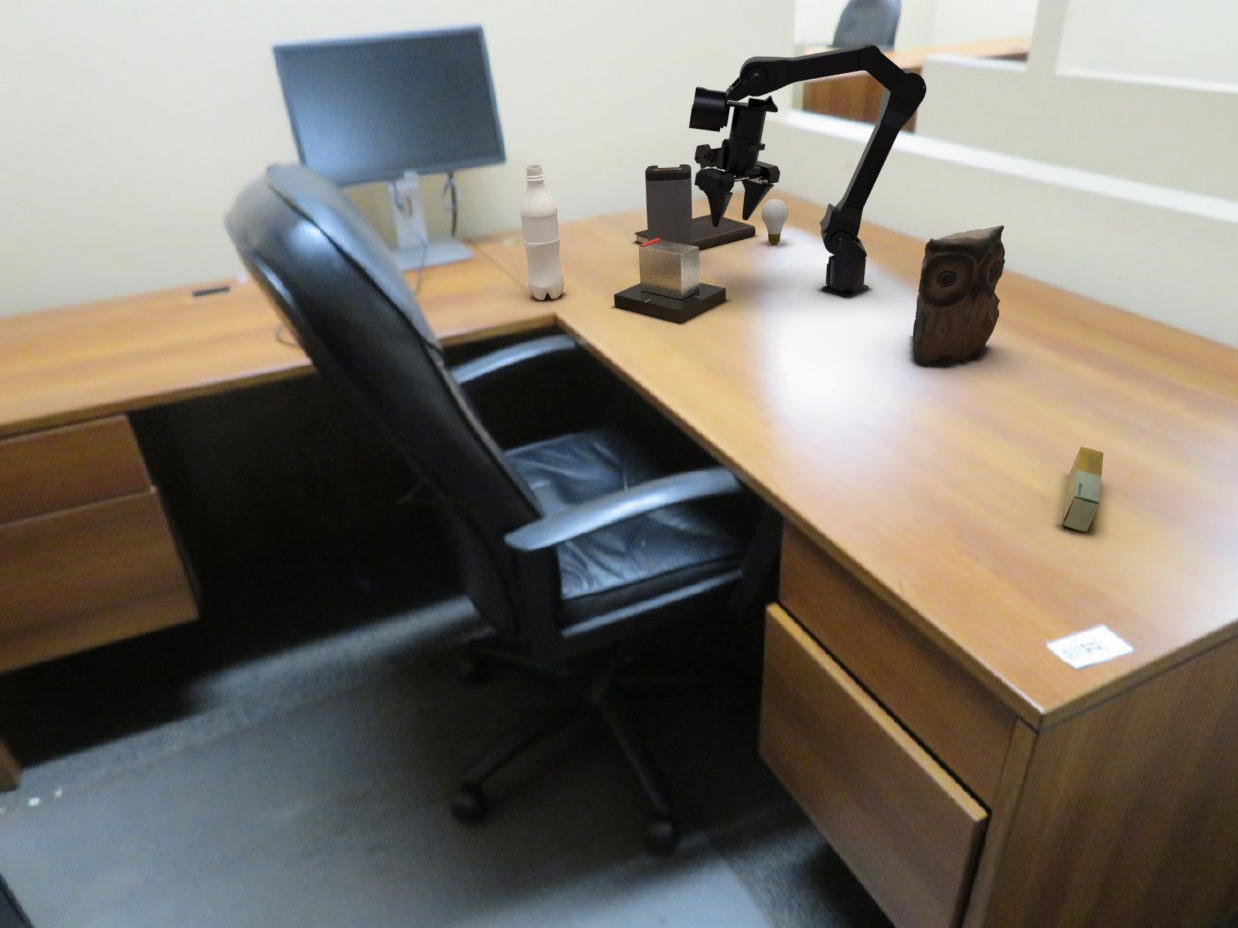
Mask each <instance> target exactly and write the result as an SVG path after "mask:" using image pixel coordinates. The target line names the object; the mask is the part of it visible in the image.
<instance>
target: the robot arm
mask: <svg viewBox="0 0 1238 928" xmlns="http://www.w3.org/2000/svg"><path fill="white" fill-rule="evenodd" d="M862 71H863V72H866V73H867V74H869V75H870V76H871V77H872V78H873V79H875V80H876V81H877V82H878V83H879V84H880V85H882V86H883V87H884V88H883V91H882V95H881V99H880V103H879V110H878V115H877V120H876V123H875V125H874V128H873V129H872V132H871V134H870V136H869V139H868V141H867V143H866V145H865V146H864V149H863V151H862V154H861V157H860V159H859V161H858V163H857V165H856V167H855V170H854V171H853V174H852V177H851V179H850V180H849V183H848V185H847V188H846V190H845V192H844V194H843V195H842V198H841V200H839V201H838V202H837V204H835V205H833V204H832V203H829V202H828V204H827V207H826V211H825V214H824V216H823V218H822V219H821V220H820V221H819V225H820V228H821V229H820V236H821V240H822V242H823V245H824V247H825V250H826V251H827V252H828V253H829V254H831V255H829V256H828V262H827V263H826V267H825V268H826V269H825V270H826V272H825V285H824V286H822V287H821V291H824V292H827V293H831V294H835V295H838V296H841V297H846V298H851V297H853V296H854V295H857V294H860V293H862V292H865V291H866V290H869V285H866V284H865V278H866V277H865V275H866V266H867V257H868V253H867V251H866V249H865V247H864V244H863V242H862V240H861V239H860V238H859V237H858V235H859V232H860V230H861V229H860V228H861V223H862V218H863V213H864V208H865V206H866V203H867V201H868V200H869V197H870V195H871V193H872V191H873V189H874V186H875V184H876V182H877V180H878V178H879V177H880V174H881V172H882V169H883V167H884V165H885V163H886V161H887V159H888V157H889V154H890V152H891V150H892V148H893V146H894V144H895V142H896V140H897V137H898V135H899V134H900V131H901V130H902V129H903V127H904V126H906V124H907V123H908V122H909V121H910V120H911V118H913V116H914V114H915V113H916V112H917V110H918V108H919V107H920V106H921V104H922V103H923V101H924V99H925V97H926V94H927V91H928V89H927V84H926V81H925V79H924V78H923V77H922V76H921V75H920V74H918V73H917V72H916V71H914V70H913V69H910V68H900V67H899V66H898V65H897V63H895V62H893V60H891V59H890V58H889V57H887V56H886V55H885V54H884V53H883V52H882V51H881V49H880V48H879V46H877V45H876V44H874V43H871V42H863V43H861V44H860V45H859V44H858V45H856V46H849V47H843V48H837V49H833V50H832V49H831V50H827V51H821V52H816V53H810V54H803V55H798V56H794V57H793V56H788V57H787V56H786V57H785V56H768V55H767V56H765V55H764V56H763V55H762V56H761V55H760V56H759V55H757V56H751V57H749V58H747V59H746V60H745V61H744V62H743V64H742V65H741V66H740V69H739V72H738V73H739V75H738V77H737V78H736V79H735V80H734V81H733V82H732V83H731V84H729V85H728V88H726V90H717V89H709V88H706V87H703V86H696V87H695V90H694V97H693V102H692V103H693V104H692V105H691V109H690V115H689V123H688V129H691V130H692V129H693V130H701V131H708V132H714V133H720V132H721V129H725V128H728V123H729V118H730V112H731V108H733V111H732V117H731V124H730V130H729V135H728V138H723V140H722V141H721V147H714V148H712V147H711V146H710V143H705V144H699V145H698V144H697V145H696V148H695V152H694V158H693V159H694V161H695V163H696V164H697V165H699V166H700V167H699V168H700V169H699V170H698V171H697V172H696V173H695V177H694V182H693V184H694V186H696V187H698V189H699V191H703V193H704V194H705V195H706V197H707V201H708V206H709V213H710V214H711V218H712V224H713V226H714V227H719V225H720V223H721V221H722V218H723V217H725V214H726V211H727V209H728V207H729V204H730V202H731V199H732V197H733V194H734V192H733V191H732V190H733V188H734V186H735V183H738V182H741V184H742V186H743V189H744V193H743V202H742V203H743V205H742V211H741V213H742V215H741V216H742V217H741V218H742V220H743V221H749V219H750V218H751V217H752V215H753V214H754V212H755V211H756V209H757V208H758V206H759V205H760V204H761V202H762V201H763V199H764V198H765V197H766V195H768V193H769V192H770V190H771V189H773V188H774V187H775V184H777V183H779V182H780V176H781V171H780V169H779V167H778V166H777V165H775V164H771V163H768V162H764V161H761V160H759V155H760V151H766V150H765V149H766V143H763V142H762V140H763V134H764V128H765V122H766V117H767V113H774V114H775V113H778V112H779V107H778V106H777V104H776V103H775V102H774V100H773V96H772V95H770V93H773V92H776V91H779V90H781V89H782V88H785V87H787V86H789V85H792V84H795V83H799V82H800V83H801V82H805V81H811V80H817V79H821V78H827V77H834V76H838V75H839V76H840V75H845V74H851V73H856V72H862ZM767 94H769V95H768V96H767V97H766V98H764V99H762V98H759V97H762V96H764V95H767ZM747 97H748V100H747V102H744V101H741V100H744V99H745V98H747ZM756 97H757V98H756Z"/></svg>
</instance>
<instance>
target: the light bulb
mask: <svg viewBox="0 0 1238 928" xmlns="http://www.w3.org/2000/svg"><path fill="white" fill-rule="evenodd" d="M789 214H790V213H789V207H788V205H787V203H786V202H785V201H784V200H782V199H779V198H773V199H769V200H768V201H767V202H765V203H764V204H763V206H762V208H761V214H760V215H761V219H762V221H763V223H764V225H765V228H766V232H767V242H768V243H769V244H771V246H776V245H777V244H778V243H780V242H781V234H782V231H783V228H784V225H785V223H786V222H787V220H788V218H789Z"/></svg>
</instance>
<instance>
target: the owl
mask: <svg viewBox="0 0 1238 928" xmlns="http://www.w3.org/2000/svg"><path fill="white" fill-rule="evenodd" d="M1004 229H1005V226H1004V224H1003V225H1001V224H1000V225H996V226H991V227H987V228H978V229H971V230H967V231H964V232H961V231H960V232H955V233H952V234H949V235H945V236H942V237H939V238H936V239H935V238H930V239H929V241H928V242H927V243H926V244H925V247H924V257H923V258H922V263H921V269H920V278H919V282H918V289H917V290H918V294H917V297H916V310H915V318H914V322H913V327H912V329H913V330H912V351H913V361H914V363H916V364H917V365H920V366H922V367H932V368H949V367H953V365H956V364H965V363H966V362H969V361H977V360H978V359H979V358H981V357H982V353H983V351H984V350H986V345H987V343H988V341H989V340H990V338H991V337H992V334H993V333H994V331H995V328H996V325H997V323H998V319H999V317H1000V310H999V304H1000V302H1001V300H1000V298H999V296H998V295H997V294H996V292H995V291H996V288H997V284H998V282H999V281H1000V279H1001V277H1002V276H1003V273H1004V268H1005V263H1006V259H1005V255H1006V249H1005V246H1004V243H1003V242H1002V235H1003V231H1004Z"/></svg>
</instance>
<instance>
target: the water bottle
mask: <svg viewBox="0 0 1238 928" xmlns="http://www.w3.org/2000/svg"><path fill="white" fill-rule="evenodd" d="M525 172H526V175H525V182H526V189H525V192H524V195H523V198H522V200H521V203H520V206H519V216H520V221H521V230H522V245H523V247H524V250H525V254H526V259H527V286H528V289H529V292H530V293H531V295H532V296H533V297H534V298H535V299H537V301H544V300H545V299H546V297H547V294H548V296H549V297H550V299H551V300H555V299H558V298H559V297H560V296H561V295H562V293H563V291H564V288H565V276H564V272H563V269H562V264H561V258H560V257H561V256H560V245H561V236H560V229H559V219H558V207H557V204H556V202H555V200H554V199H553V197H552V195H551V194H550V192H549V191H548V188H547V187H546V185H545V176H544V173H543V166H542V165H541V164H531V165H527V166H525Z"/></svg>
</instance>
